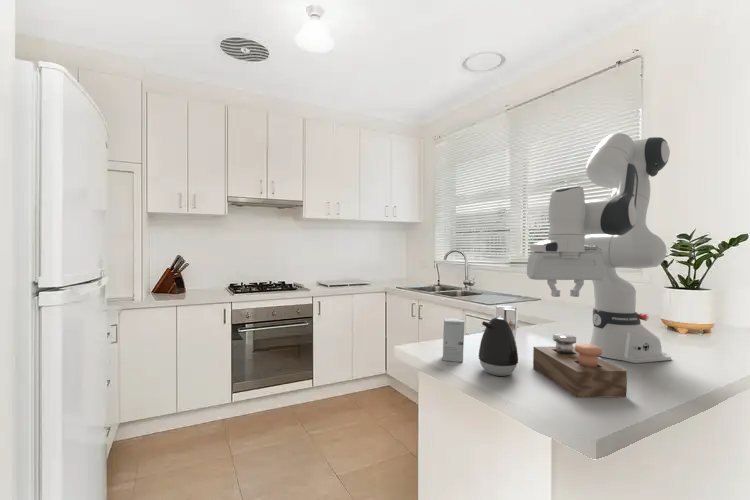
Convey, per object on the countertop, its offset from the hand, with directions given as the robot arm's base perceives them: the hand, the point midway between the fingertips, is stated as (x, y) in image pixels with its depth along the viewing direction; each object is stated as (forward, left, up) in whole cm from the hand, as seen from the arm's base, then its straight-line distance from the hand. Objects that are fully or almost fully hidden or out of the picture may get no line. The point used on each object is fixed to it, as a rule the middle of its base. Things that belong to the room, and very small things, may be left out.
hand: (565, 296), depth 98 cm
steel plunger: (0, 0, -16) cm, 16 cm away
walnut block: (0, +5, -21) cm, 22 cm away
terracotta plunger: (0, +10, -16) cm, 19 cm away
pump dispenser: (+18, -1, -21) cm, 28 cm away
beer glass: (+9, -17, -21) cm, 29 cm away
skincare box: (+27, -13, -21) cm, 37 cm away
